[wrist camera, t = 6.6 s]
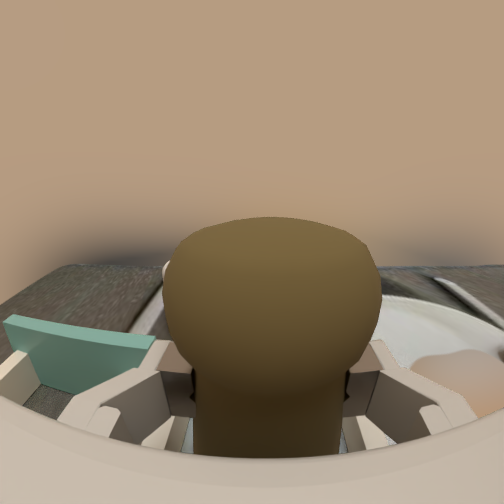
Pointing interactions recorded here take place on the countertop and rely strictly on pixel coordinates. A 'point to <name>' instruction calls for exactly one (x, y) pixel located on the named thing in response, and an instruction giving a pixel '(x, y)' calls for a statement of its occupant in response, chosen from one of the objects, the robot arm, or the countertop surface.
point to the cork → (270, 332)
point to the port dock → (65, 357)
